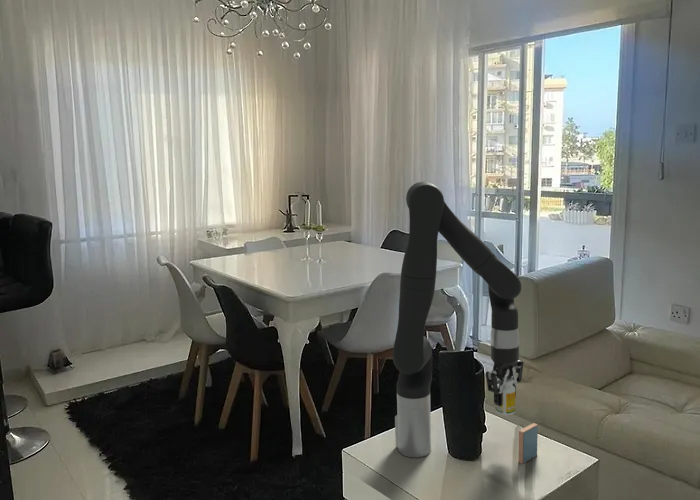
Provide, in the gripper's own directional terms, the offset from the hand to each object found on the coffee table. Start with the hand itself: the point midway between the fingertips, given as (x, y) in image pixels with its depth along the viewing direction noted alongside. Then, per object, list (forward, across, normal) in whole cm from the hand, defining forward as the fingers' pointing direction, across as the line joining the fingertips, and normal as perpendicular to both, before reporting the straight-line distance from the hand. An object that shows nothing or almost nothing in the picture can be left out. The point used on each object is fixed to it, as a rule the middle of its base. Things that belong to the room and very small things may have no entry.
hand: (505, 401), depth 160 cm
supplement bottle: (+3, 0, 0) cm, 3 cm away
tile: (+14, 0, +7) cm, 16 cm away
